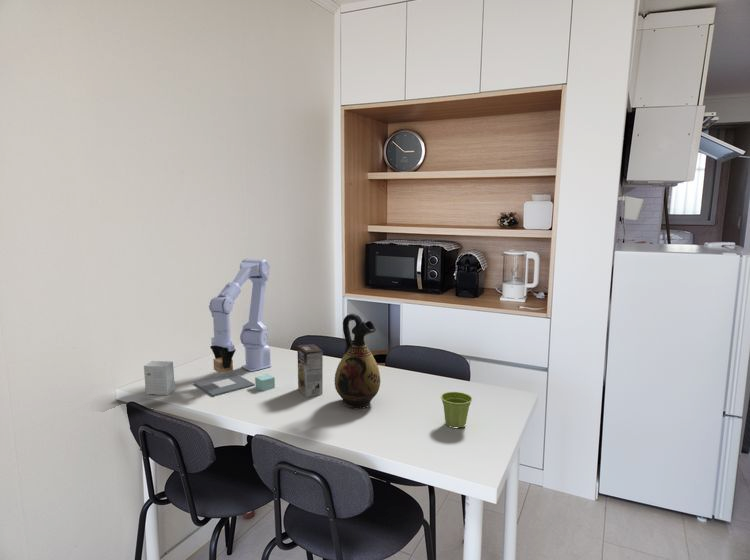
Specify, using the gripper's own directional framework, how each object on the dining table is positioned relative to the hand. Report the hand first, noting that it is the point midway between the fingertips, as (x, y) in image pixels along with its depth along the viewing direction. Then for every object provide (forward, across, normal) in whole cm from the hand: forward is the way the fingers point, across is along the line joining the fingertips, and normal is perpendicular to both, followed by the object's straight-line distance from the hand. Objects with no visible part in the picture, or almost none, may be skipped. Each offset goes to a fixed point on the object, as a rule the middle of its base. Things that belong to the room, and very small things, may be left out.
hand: (223, 365), depth 181 cm
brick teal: (+7, +12, +10) cm, 17 cm away
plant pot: (+8, +77, +38) cm, 86 cm away
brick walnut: (+2, 0, 0) cm, 2 cm away
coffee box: (+7, +26, +20) cm, 34 cm away
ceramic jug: (+7, +44, +26) cm, 52 cm away
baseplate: (+7, 0, 0) cm, 7 cm away
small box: (+8, -8, -20) cm, 23 cm away
